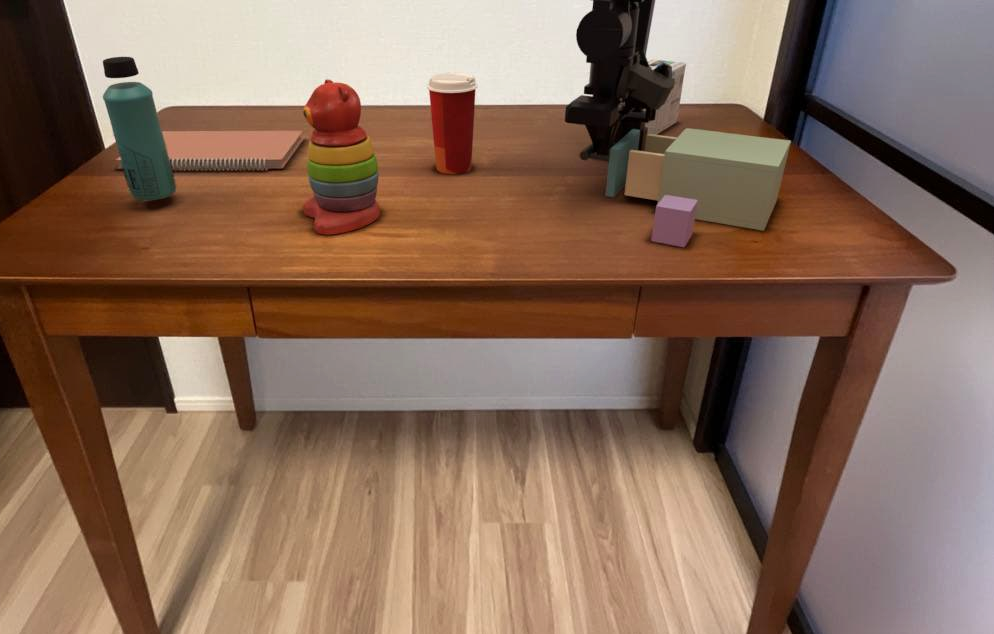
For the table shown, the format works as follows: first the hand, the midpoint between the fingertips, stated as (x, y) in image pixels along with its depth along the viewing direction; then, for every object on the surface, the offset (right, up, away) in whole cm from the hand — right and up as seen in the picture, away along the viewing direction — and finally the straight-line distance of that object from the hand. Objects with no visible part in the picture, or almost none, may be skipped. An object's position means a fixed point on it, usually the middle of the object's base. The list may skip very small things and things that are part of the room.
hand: (602, 159), depth 104 cm
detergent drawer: (+6, -4, -1) cm, 7 cm away
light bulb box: (+14, +13, +28) cm, 34 cm away
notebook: (-63, +5, +18) cm, 66 cm away
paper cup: (-22, +1, +11) cm, 24 cm away
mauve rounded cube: (+6, -14, -13) cm, 20 cm away
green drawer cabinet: (+15, -8, -4) cm, 18 cm away
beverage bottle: (-65, -7, 0) cm, 66 cm away
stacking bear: (-37, -10, -5) cm, 38 cm away
